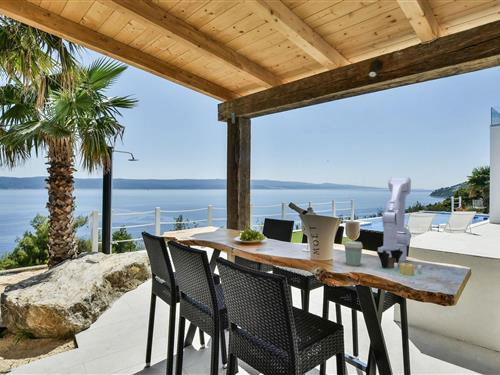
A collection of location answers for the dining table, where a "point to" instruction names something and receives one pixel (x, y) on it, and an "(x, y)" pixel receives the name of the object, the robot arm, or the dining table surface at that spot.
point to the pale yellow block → (407, 269)
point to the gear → (391, 262)
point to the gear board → (396, 271)
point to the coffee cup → (353, 252)
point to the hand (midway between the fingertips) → (389, 266)
